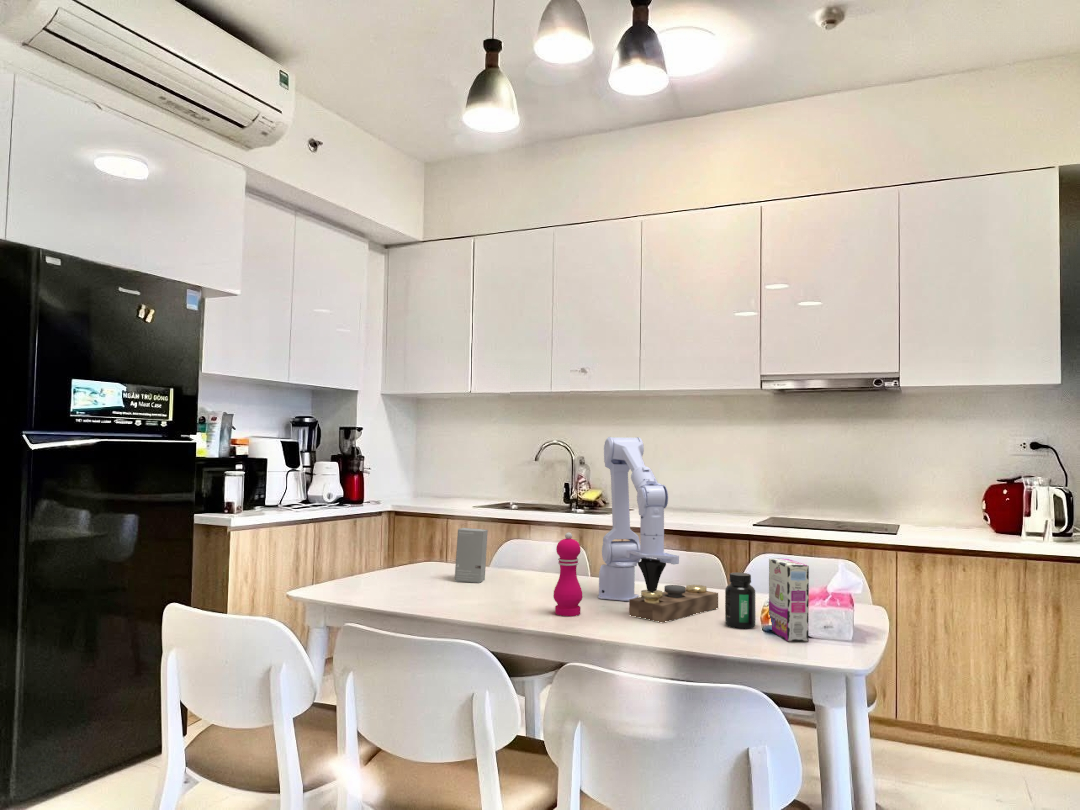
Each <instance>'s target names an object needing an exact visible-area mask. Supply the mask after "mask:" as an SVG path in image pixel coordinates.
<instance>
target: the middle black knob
mask: <svg viewBox="0 0 1080 810" xmlns="http://www.w3.org/2000/svg"><path fill="white" fill-rule="evenodd" d="M685 587H686V586H684V585H679V584H666V585H664V587H663V588H664V589H663V590H664V591H663V592H667V593H668V597H672V598H681V597H682V593H685Z"/></svg>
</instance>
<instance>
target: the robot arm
mask: <svg viewBox="0 0 1080 810" xmlns="http://www.w3.org/2000/svg"><path fill="white" fill-rule="evenodd" d="M644 452H645V447H644V441H643V439H642V438H641V437H640V436H639V437H637V436H635V437H618V436H617V437H614V436H613V437H611V436H607V438H606V439H605V441H604V445H603V462H604V467H605V468H607V469H608V470H609V471H610V486H611V487H610V489H611V514H612V517H611V519H612V520H611V521H612V528H611V529H610V531H608V532H607V533H606V534H604V536H603V537H602V546H601V557H602V560H603V561H602V562H604V564H601V565H600V568H599V572H598V573H599V574H598V597H597V599H599V600H601V599H602V600H611V601H613V600H614V601H623V602H629V599H633V598H638V597H640V595H639V594H636V593H635V583H636V582H635V579H636V578H635V576H636V575H635V571H636V570H635V567H637V566H638V567H639V569H640V571H641V573H642V576H643V578H644V582H645V586H646V590H647V591H651V592H653V591H657V590H658V586H659V582H660V578H661V576H662V573H663V571H664V569H665V568H666V566H667V564H670V565H679V564H680V555H676V554H672V553H668V552H665V509H666V508H667V506H668V504H669V493H668V489H667V486H666V485H665V484H662V483H659V482H658V480H657V478H656V476H655V474H654V472H653V470H652V469H651V468H650V467H649V466H646V465H645V462H644V459H643V456H644ZM629 471H631V475H630V479H631V482H632V485H634V486H633V487H634V488H635V491H636V493H637V495H636V503H637V506H638V515H639V516H640V523H639V524H640V535H638V534H637V533H635V532H634V531H633V530H632V529H631V519H630V518H631V517H630V515H631V513H630V495H629V493H630V492H629V491H630V490H629V488H630V487H629ZM614 540H615V541H614Z"/></svg>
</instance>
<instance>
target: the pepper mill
mask: <svg viewBox="0 0 1080 810" xmlns="http://www.w3.org/2000/svg"><path fill="white" fill-rule="evenodd" d="M564 537H565V538H562V539H561V540H560V541H558V543H557V544H556V553H557V555H558V557H559V558H558V565H559V578H558V579H557V580H558V581H557V582H556V584H555V586H554V590H553V600H554V601H555V602H556V605H555V606H554V611H555V612H554V614H555V615H557V616H560V615H561V617H576V615H577V616H579V614H581V606H580V605H579V604H580V603H581V602H582V600H583V597H584V596H583V590H582V587H581V585H580V583H579V579H578V575H577V566H578V565H579V558H578V556H579V555H580V554H581V544H580V543H579V542H578V540H575V539H574V538H573V535H572V532H566V533H565V534H564Z"/></svg>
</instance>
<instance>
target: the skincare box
mask: <svg viewBox="0 0 1080 810" xmlns="http://www.w3.org/2000/svg"><path fill="white" fill-rule="evenodd" d="M488 532H489V530H488V529H484V528H470V527H469V528H468V527H461V528H458V529H457V535H456V536H457V538H456V539H457V540H456V550H455V551H456V553H455V554H456V555H455V566H454V567H455V569H454V582H456V583H477V584H479V583H481V582H484V581H485V580H486V565H487V548H488Z"/></svg>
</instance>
